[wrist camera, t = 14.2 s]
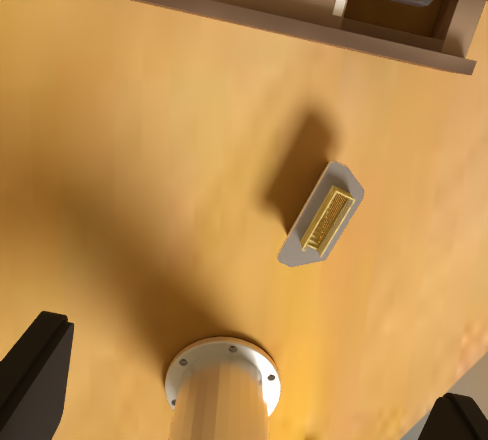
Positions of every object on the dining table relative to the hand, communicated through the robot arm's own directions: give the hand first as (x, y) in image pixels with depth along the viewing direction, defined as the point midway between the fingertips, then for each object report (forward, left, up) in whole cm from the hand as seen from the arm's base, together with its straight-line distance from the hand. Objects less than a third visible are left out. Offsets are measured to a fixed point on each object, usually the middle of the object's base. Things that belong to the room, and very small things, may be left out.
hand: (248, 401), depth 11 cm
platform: (-4, -7, -32) cm, 33 cm away
